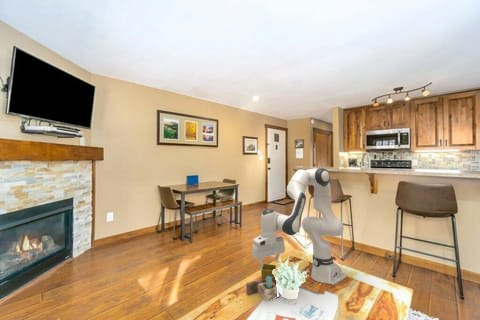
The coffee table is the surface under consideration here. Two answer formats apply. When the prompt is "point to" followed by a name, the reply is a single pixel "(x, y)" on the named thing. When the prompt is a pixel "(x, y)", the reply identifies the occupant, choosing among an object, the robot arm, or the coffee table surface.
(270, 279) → the dowel
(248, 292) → the wall
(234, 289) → the coffee table surface
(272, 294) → the block
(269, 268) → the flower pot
